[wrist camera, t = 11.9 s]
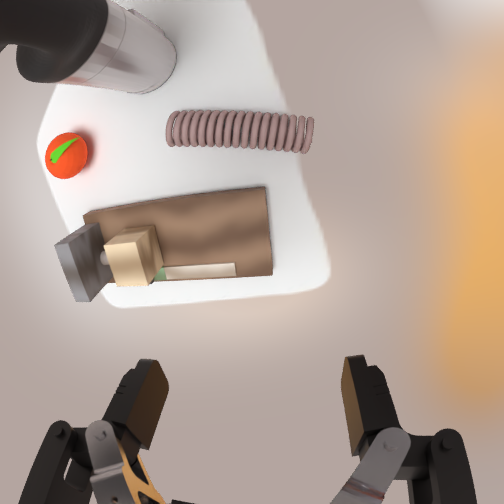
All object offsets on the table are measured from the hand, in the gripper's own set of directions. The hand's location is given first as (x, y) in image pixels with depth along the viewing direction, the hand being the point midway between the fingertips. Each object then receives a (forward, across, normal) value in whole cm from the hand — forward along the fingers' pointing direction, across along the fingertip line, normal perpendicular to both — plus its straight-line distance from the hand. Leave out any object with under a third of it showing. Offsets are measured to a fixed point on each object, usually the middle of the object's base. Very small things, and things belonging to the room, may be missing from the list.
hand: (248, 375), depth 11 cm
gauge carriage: (+26, +19, +5) cm, 33 cm away
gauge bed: (+28, +14, +4) cm, 32 cm away
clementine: (+28, +27, -12) cm, 41 cm away
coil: (+29, +2, -10) cm, 30 cm away
